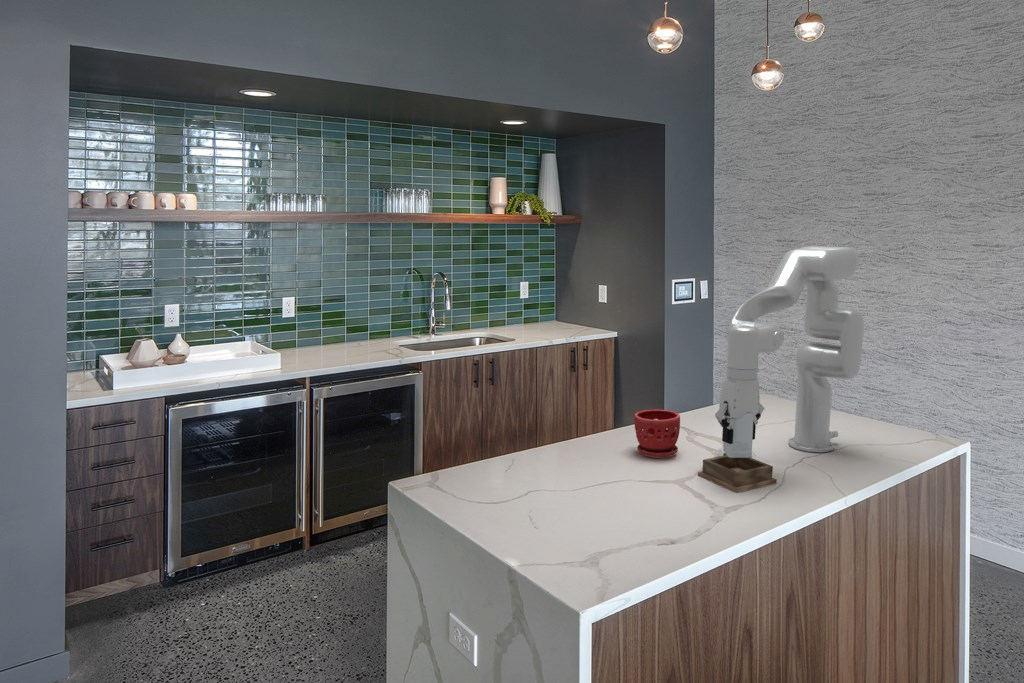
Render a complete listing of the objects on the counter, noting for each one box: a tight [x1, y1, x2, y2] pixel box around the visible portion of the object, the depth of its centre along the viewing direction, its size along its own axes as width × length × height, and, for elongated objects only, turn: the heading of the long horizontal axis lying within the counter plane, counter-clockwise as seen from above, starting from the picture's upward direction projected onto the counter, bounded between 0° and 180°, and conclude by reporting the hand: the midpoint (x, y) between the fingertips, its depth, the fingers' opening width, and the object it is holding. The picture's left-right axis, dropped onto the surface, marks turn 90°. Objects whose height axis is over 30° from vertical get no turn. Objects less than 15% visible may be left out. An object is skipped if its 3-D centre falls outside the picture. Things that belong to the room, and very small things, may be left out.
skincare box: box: [724, 412, 754, 458], centre depth 186 cm, size 6×4×12 cm
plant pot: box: [633, 409, 681, 459], centre depth 209 cm, size 13×13×12 cm
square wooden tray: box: [697, 454, 778, 494], centre depth 188 cm, size 14×14×4 cm
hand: (738, 440), depth 187 cm, fingers closed on skincare box, 7 cm apart
